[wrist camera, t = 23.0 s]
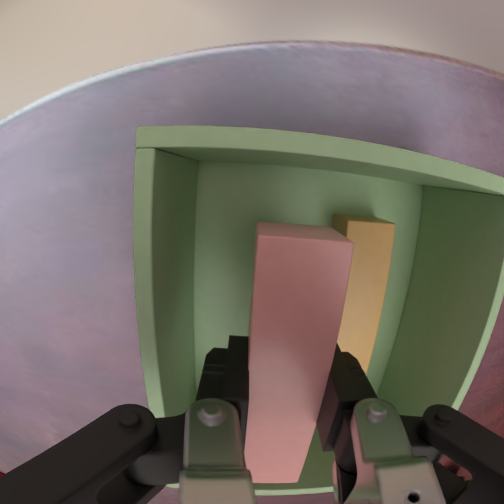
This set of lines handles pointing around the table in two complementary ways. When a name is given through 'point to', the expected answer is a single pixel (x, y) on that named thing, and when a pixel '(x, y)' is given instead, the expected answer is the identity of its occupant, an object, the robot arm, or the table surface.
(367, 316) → the mustard wooden beam
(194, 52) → the table surface
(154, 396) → the bin
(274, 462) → the pink stick
